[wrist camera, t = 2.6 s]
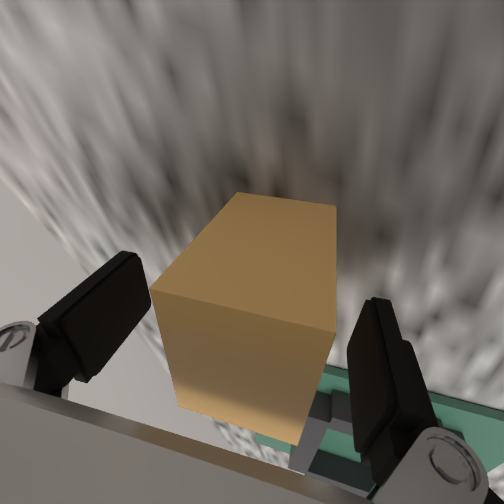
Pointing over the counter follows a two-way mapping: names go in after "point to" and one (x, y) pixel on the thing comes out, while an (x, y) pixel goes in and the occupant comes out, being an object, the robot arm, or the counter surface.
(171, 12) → the counter surface
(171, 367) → the plug block
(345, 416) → the board
